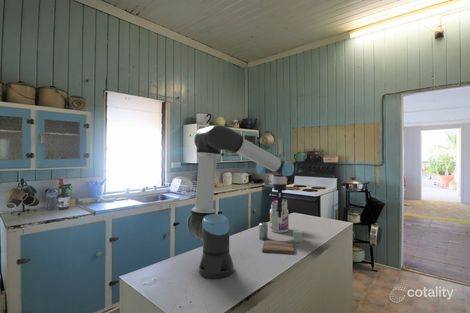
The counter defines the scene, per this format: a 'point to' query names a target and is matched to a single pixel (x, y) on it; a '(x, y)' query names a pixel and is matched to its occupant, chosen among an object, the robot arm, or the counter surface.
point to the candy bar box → (284, 223)
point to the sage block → (297, 236)
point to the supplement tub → (271, 223)
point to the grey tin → (263, 231)
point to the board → (278, 247)
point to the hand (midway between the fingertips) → (279, 220)
